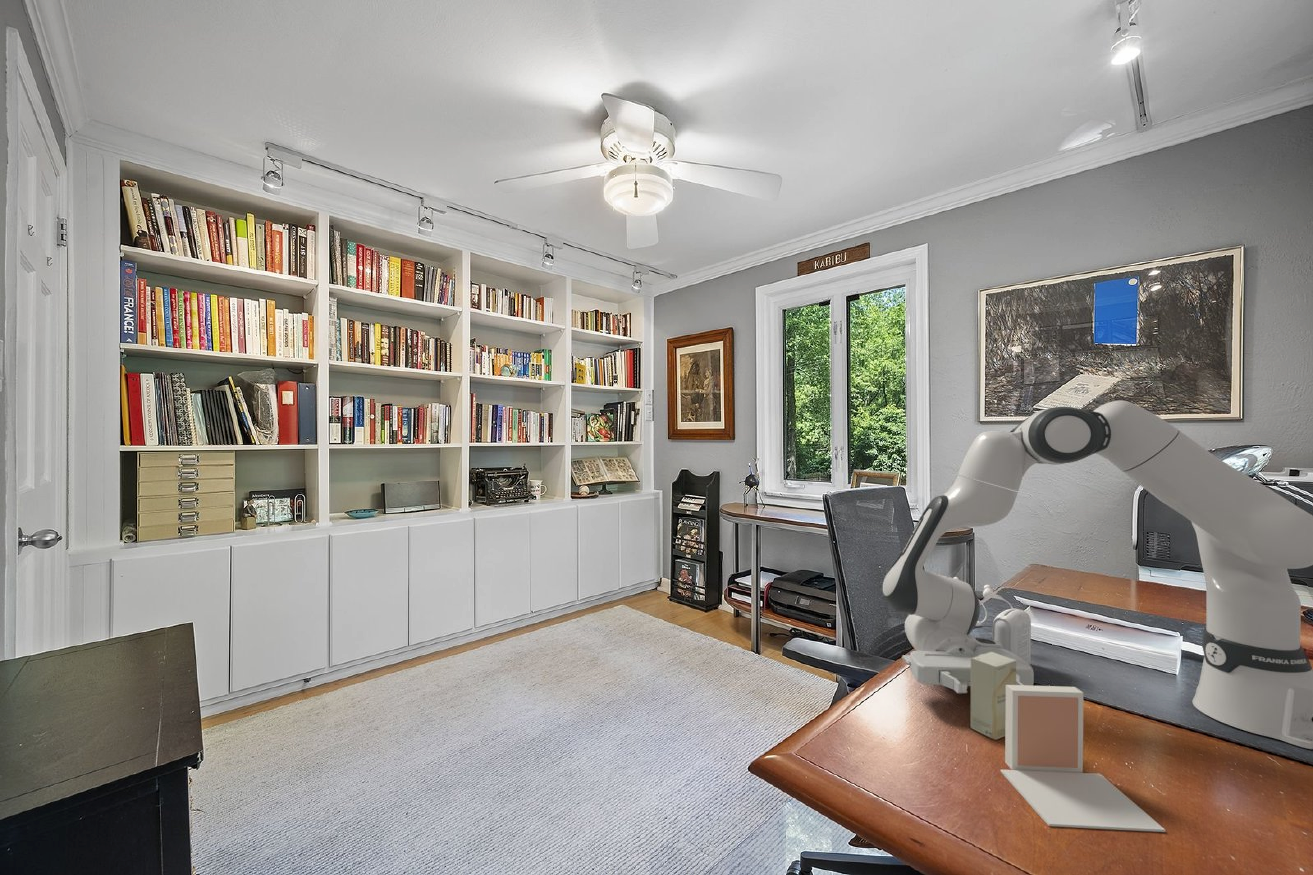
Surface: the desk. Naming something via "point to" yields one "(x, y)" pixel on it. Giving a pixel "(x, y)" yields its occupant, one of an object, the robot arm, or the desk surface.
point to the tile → (1044, 728)
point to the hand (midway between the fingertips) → (991, 690)
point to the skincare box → (990, 692)
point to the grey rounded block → (1014, 632)
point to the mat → (1079, 801)
